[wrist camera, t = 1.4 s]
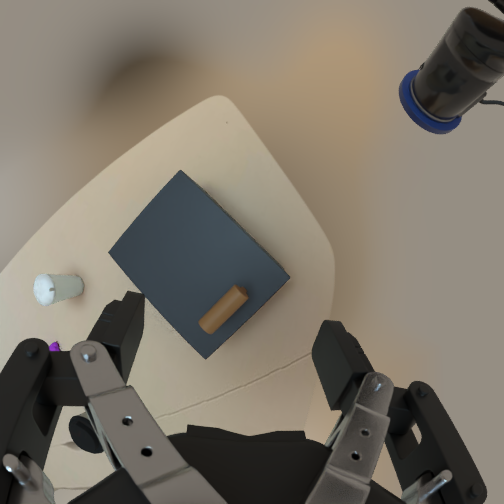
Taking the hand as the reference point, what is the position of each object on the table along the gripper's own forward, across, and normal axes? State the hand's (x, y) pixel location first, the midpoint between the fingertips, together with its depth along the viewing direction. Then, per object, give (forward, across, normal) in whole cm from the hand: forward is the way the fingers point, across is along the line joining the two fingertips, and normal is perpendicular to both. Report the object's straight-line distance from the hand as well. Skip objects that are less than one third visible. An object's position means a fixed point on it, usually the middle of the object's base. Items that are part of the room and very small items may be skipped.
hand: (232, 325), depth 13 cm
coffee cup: (+19, +14, +37) cm, 44 cm away
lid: (+19, +3, +6) cm, 20 cm away
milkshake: (+28, +21, +18) cm, 40 cm away
